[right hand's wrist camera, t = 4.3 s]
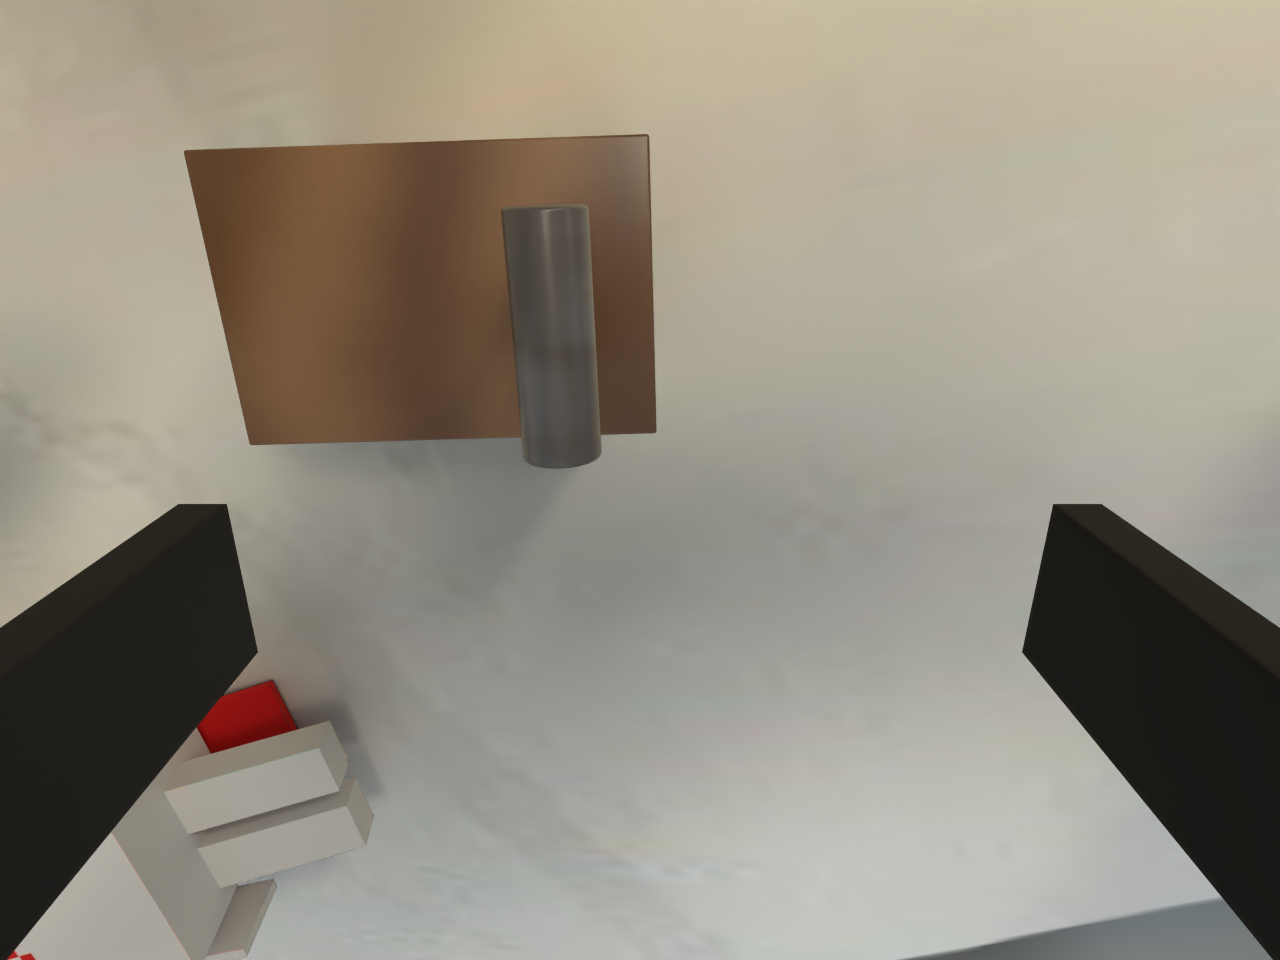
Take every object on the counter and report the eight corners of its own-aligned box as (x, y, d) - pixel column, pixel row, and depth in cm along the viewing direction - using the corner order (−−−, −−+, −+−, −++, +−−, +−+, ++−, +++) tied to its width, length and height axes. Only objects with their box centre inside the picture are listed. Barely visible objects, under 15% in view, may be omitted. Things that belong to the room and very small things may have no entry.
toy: (366, 965, 36) (-291, 1160, 34) (409, 770, 48) (-70, 908, 47) (261, 760, 32) (-491, 974, 30) (339, 605, 44) (-190, 751, 43)
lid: (648, 135, 23) (652, 109, 15) (655, 425, 26) (662, 534, 18) (199, 151, 23) (-41, 133, 15) (262, 437, 27) (93, 550, 18)
